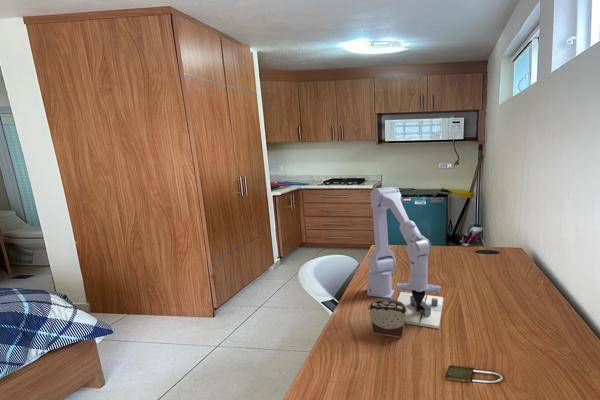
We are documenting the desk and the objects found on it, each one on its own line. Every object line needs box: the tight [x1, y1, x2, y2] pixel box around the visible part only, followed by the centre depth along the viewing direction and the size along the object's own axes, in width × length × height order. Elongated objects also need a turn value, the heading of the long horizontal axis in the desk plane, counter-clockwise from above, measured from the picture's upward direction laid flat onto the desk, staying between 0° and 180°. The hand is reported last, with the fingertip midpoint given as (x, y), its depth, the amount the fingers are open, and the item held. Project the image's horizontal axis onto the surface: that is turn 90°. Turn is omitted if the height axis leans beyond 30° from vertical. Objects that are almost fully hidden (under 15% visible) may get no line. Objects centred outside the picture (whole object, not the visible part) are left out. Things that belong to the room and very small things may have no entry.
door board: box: [396, 291, 444, 330], centre depth 132 cm, size 16×24×3 cm, turn 156°
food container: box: [367, 298, 408, 339], centre depth 117 cm, size 12×6×10 cm, turn 71°
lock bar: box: [410, 295, 431, 316], centre depth 130 cm, size 11×4×3 cm, turn 10°
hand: (418, 310), depth 127 cm, fingers closed, pressing on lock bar
